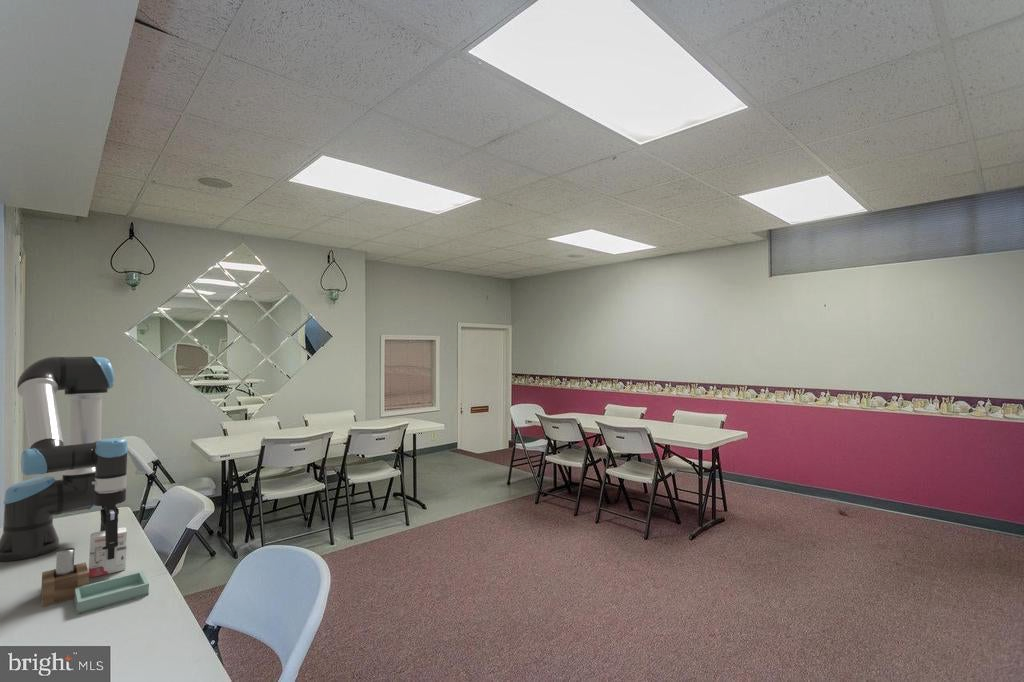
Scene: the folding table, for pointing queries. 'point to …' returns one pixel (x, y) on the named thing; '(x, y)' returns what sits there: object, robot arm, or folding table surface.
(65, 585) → the wooden square holder
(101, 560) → the ink box
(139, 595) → the tray
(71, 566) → the cylinder
